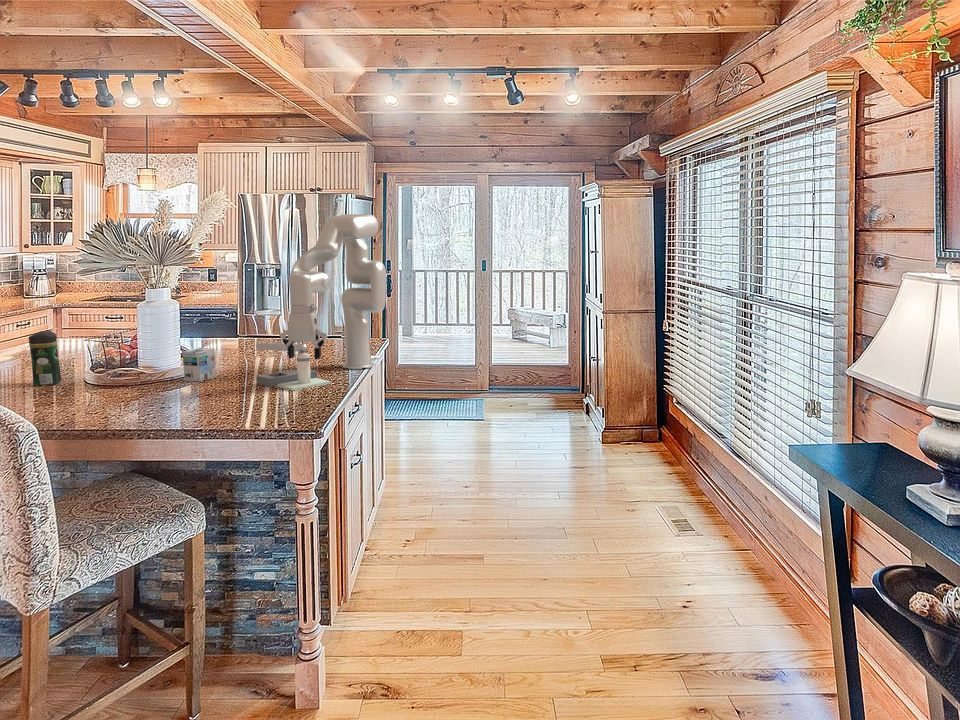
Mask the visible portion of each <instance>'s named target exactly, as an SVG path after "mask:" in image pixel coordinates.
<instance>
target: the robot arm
mask: <svg viewBox="0 0 960 720" xmlns="http://www.w3.org/2000/svg"><path fill="white" fill-rule="evenodd" d="M378 230H379V222H378V219H377V218H376V216H375V215H373V214H368V213H367V214H366V213H365V214H363V213H362V214H359V213H358V214H355V213H350V214H347V213H346V214H339V215H333V216H329V217H328V218H327V219H326V221H325V223H324V224H323V228H322V230H321V232H320V233H319V237H318V238H317V241H316V243H315V245H314V246H313V247H311V248H309V249H308V250H307V251H306V252H305V253H303V254H302V255H300V256H299V258H297V260H295V262H294V264H293V266H292V269H291V271H290V274H289V277H288V285H289V300H290V302H289V303H290V313H289V315H288V319H287V321H288V323H287V330H285V331H283V332H281V333H280V334H279V337H280V339H281V341H282V343H284V344H285V345H286V347H287V348H288V351H287V356H288V359H293V358H295V353H296V352H295V351H294V346H293V344H295V343H303V344H306V343H307V344H308V343H310V344H312V345H313V346H314V347H315V348H314V349H313V350H314V351H313V352H314V360H319V359H321V356H322V347H323V345H324V344H325V343H326V342H327V338H328V334H326V333H325V332H322V331H321V330H320V328H319V322H318V321H319V320H318V317H317V313H316V312H315V311H317V309H318V308H317V306H315V305H314V300H313V299H314V297H313V294H321V293H324V292H327V290H328V289H329V287H330V285H331V279H330V276H329V275H328V274H326V272H323V271H314V270H313V271H311V270H312V269H313V268H316V267H317V266H320V265H324V264H326V263H329V262H330V261H333V260H334V259H336V258H337V257H338V254H339V253H340V250H341V247H342V245H343V244H344V245H345V246H344V247H345V277H346V280H347V282H348V283H350V284H353V285H369V286H370V288H369V287H349V288H346V289H345V290H343V292H342V294H341V299H340V300H341V306H342V311H343V319H344V346H345V347H344V349H345V353H344V354H345V355H344V356H345V362H343V363H341V368H343V369H346V368H348V370H363V369H362V368H366V369H370V368H373V367H374V363H373V361H376V360H379V358H380V355H378V354H374V355H372V354H370V322H369V319H368V318H367V316H366V314H365V313H369V314H370V313H374V314H375V313H381V312H382V311H384V309H385V306H386V301H387V300H386V299H387V270H386V267H385V264H384V263H383V262H382V261H380V260H371V259H370V260H369V248H368V245H367V242H366V241H365V239H367V238H372V237H375V236H376V234H377V232H378ZM320 337H321V338H320Z"/></svg>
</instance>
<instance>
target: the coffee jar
mask: <svg viewBox="0 0 960 720" xmlns="http://www.w3.org/2000/svg"><path fill="white" fill-rule="evenodd" d="M28 344H29V345H28V347H29V351H30V358H31V359H30V360H31V368H32V369H31V371H32V380H33V381H32V382H33V385H34V386H35V385H48V386H55V385H59V383H61V381H62V375H61V367H60V359H59V351H58V338H57V334H56V333H55V332H53V331H52V330H42V331H38V332H36V333H34V334H31V335H30V336H28ZM54 384H55V385H54Z"/></svg>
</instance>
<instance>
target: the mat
mask: <svg viewBox="0 0 960 720" xmlns="http://www.w3.org/2000/svg"><path fill="white" fill-rule="evenodd" d="M327 384H328V385H332V380H331V381H330V380H327V379H322V378H318V377H317V378H312V379H311V383H309V384H298V381H294V382H288V383H283V384H277V386H276V387H277V388H279V387H280V388H279V389H282V388H283V390H286V389H287V391H290V390H291V391H292V392H294V391H293V390H295V391H299V390H298V389H301V390H304V389H303V388H306V389H310V388H309V387H312V388H315V386H317V387H322V386H321V385H323V386H327Z"/></svg>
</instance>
